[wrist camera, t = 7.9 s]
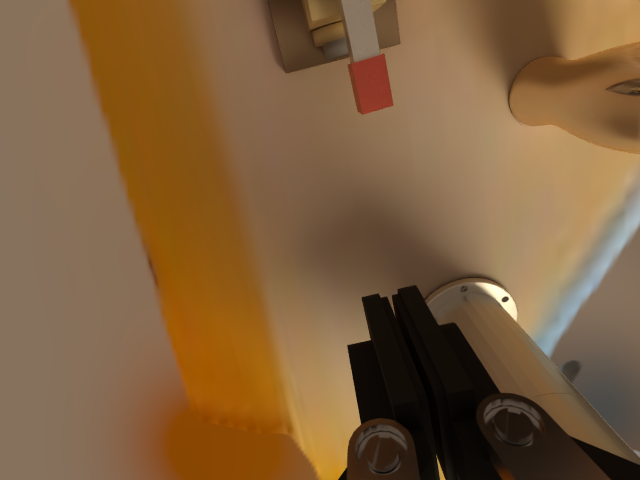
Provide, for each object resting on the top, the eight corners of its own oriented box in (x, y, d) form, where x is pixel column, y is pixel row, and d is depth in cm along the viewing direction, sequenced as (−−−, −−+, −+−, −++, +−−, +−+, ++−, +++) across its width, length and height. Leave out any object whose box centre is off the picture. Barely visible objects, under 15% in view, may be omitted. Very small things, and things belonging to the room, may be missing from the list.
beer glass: (559, 134, 36) (720, 169, 22) (493, 125, 35) (619, 156, 21) (589, 57, 33) (795, 42, 19) (519, 45, 32) (681, 22, 19)
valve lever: (314, -58, 21) (317, -81, 18) (356, -72, 21) (366, -97, 18) (352, 112, 25) (359, 116, 22) (388, 101, 25) (400, 104, 22)
